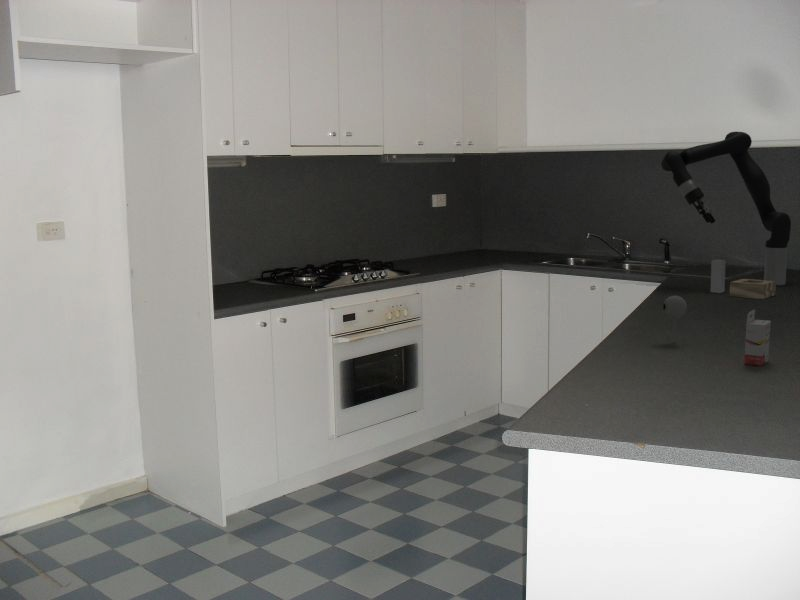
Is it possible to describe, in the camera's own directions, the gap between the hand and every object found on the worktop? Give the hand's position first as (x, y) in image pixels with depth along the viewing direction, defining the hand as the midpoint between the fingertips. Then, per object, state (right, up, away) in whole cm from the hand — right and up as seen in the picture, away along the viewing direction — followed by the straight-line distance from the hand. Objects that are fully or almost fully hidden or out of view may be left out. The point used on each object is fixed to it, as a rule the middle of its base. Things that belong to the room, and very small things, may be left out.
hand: (711, 222), depth 387 cm
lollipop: (-49, -48, -105) cm, 125 cm away
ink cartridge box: (-35, -52, -135) cm, 149 cm away
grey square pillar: (+3, -30, +2) cm, 31 cm away
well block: (+14, -32, -10) cm, 36 cm away
